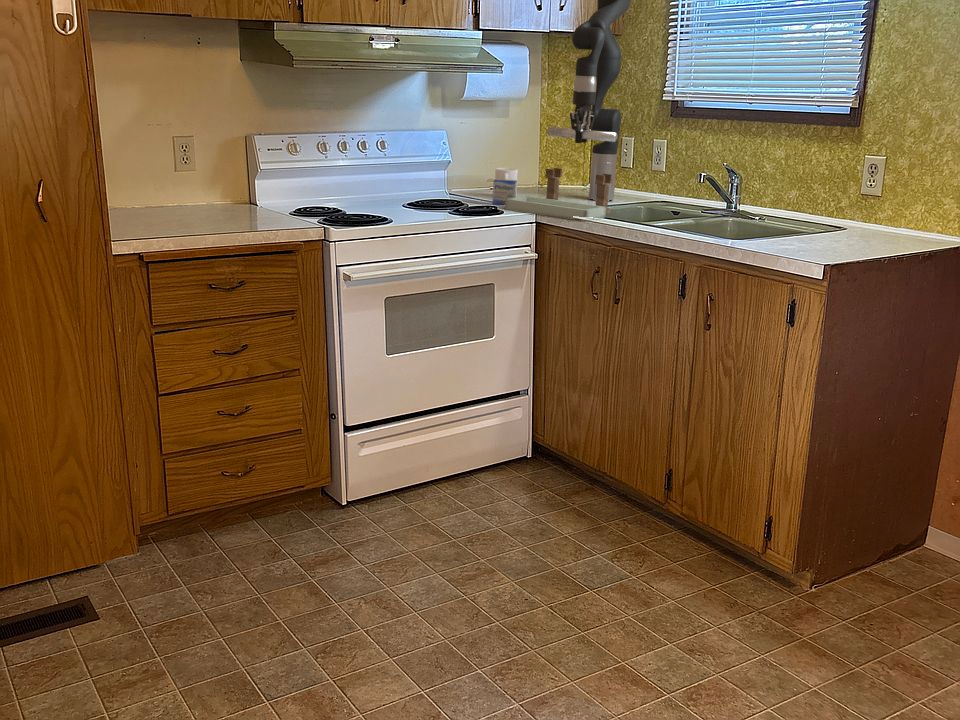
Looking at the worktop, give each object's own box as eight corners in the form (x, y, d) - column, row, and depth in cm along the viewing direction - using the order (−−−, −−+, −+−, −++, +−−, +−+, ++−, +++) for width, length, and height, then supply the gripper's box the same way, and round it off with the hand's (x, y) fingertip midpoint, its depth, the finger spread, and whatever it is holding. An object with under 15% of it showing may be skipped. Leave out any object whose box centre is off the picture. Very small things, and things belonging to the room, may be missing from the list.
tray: (525, 205, 326) (526, 195, 325) (605, 217, 308) (606, 206, 307) (504, 209, 316) (505, 198, 315) (585, 221, 298) (586, 210, 297)
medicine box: (492, 204, 325) (493, 179, 323) (493, 203, 330) (494, 178, 327) (514, 206, 325) (515, 181, 322) (515, 204, 329) (516, 179, 326)
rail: (551, 135, 324) (551, 126, 323) (617, 141, 309) (617, 132, 309) (546, 135, 322) (547, 126, 321) (612, 141, 307) (613, 132, 306)
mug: (515, 200, 338) (517, 171, 335) (493, 199, 339) (494, 170, 336) (516, 196, 350) (518, 168, 347) (494, 195, 350) (496, 167, 347)
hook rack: (551, 204, 332) (553, 167, 328) (610, 212, 318) (613, 174, 314) (542, 206, 327) (544, 168, 323) (601, 214, 314) (605, 175, 310)
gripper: (585, 89, 318) (581, 141, 323) (564, 89, 307) (560, 142, 313) (604, 90, 314) (600, 142, 319) (583, 90, 303) (579, 144, 308)
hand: (580, 142), depth 316 cm, fingers closed on rail, 3 cm apart
